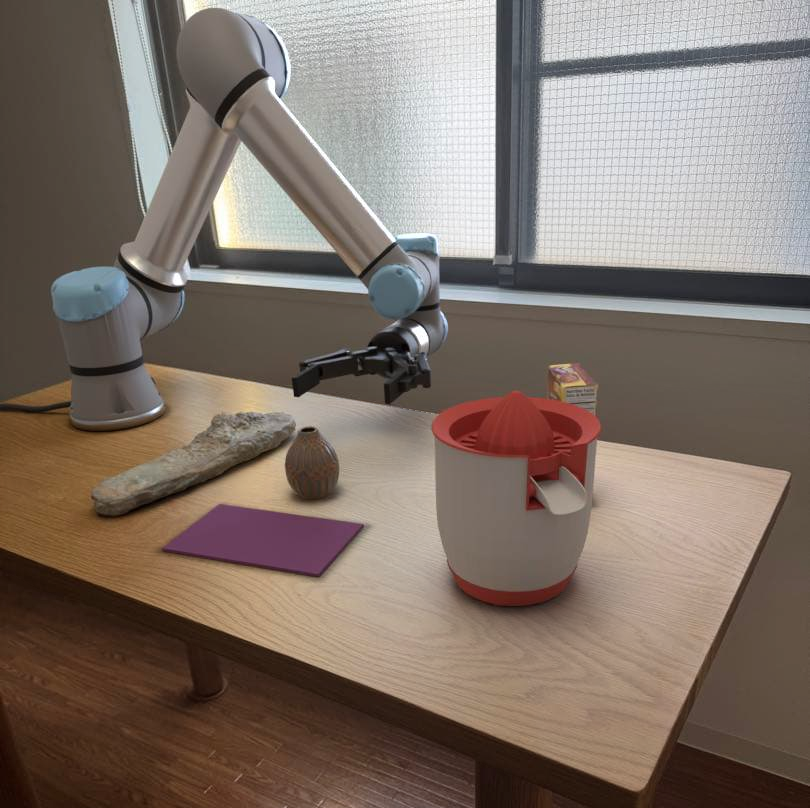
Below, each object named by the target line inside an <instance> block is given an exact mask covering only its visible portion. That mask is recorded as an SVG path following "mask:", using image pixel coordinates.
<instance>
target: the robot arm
mask: <svg viewBox="0 0 810 808" xmlns="http://www.w3.org/2000/svg"><path fill="white" fill-rule="evenodd" d="M176 42H177V43H176V61H177V67H178V70H179V73H180V76H181V78H182V81H183V82H184V84H185V93H186V97H187V100H188V102H189V109H188V111H187V114H186V116H185V119H184V121H183V124H182V126H181V128H180V131H179V134H178V136H177V137H176V140H175V143H174V145H173V148H172V150H171V152H170V155H169V157H168V160H167V162H166V164H165V167H164V169H163V172H162V175H161V177H160V179H159V181H158V184H157V186H156V189H155V191H154V194H153V196H152V198H151V201H150V203H149V205H148V208H147V210H146V213H145V216H144V218H143V220H142V223H141V224H140V227H139V229H138V232H137V235H136V237H135V239H134V241H131V242H126V243H123V244H122V245H121V246H120V249H119V252H118V254H117V257H116V259H115V261H114V264H113V266H94V267H93V266H92V267H87V268H82V269H81V270H74V271H70V272H68V273H65V274H63V275H61V276H59V277H58V278H57V279H55V281H54V282H53V283H52V285H51V288H50V294H51V299H52V310H53V312H54V314H55V317H56V320H57V325H58V328H59V332H60V336H61V340H62V344H63V348H64V351H65V354H66V359H67V362H68V365H69V370H70V375H71V387H70V400H69V401H64V402H57V403H52V404H47V405H38V406H37V405H27V404H19V403H4V402H2V403H1V402H0V410H15V411H20V412H22V411H23V412H30V413H45V412H51V411H55V410H61V409H68V408H69V417H70V421H71V424H72V426H73V427H75V428H77V429H80V430H84V431H92V432H106V431H118V430H123V429H129V428H134V427H139V426H141V425H145V424H147V423H150V422H152V421H154V420H156V419H158V418H159V417H161V416H162V415H163V414H164V413H165V411H166V406H165V402H164V399H163V396H162V395H161V393H160V392H159V391H158V390H157V388H156V385H157V383H156V381H155V379H154V378H153V377H152V376H151V375H150V374H149V372H148V369H147V367H146V365H145V360H144V356H143V355H144V354H143V350H142V345H141V340H144V339H145V338H147V337H150V336H152V335H153V334H156V333H158V332H161V331H164V330H165V329H167V328H169V327H170V325H172V324H173V323H174V322H175V321H176V320H177V319H178V318H179V316H180V315H181V313H182V311H183V308H184V305H185V291H184V289H185V287H186V284H187V282H188V276H187V273H186V271H185V269H184V266H185V264H186V262H187V259H188V258H189V256H190V253H191V251H192V249H193V247H194V244H195V243H196V241H197V238H198V236H199V234H200V231H201V229H202V228H203V225H204V223H205V222H206V218H207V217H208V214H209V212H210V210H211V208H212V206H213V204H214V201H215V200H216V197H217V195H218V193H219V191H220V189H221V186H222V184H223V182H224V180H225V178H226V175H227V173H228V171H229V168H230V167H231V165H232V162H233V161H234V158H235V156H236V154H237V151H238V149H239V147H240V145H241V144H243V145H244V146H245V147H246V148H247V150H249V152H250V153H251V154H252V155H253V156H254V158H255V159H256V160H257V162H259V163H260V165H261V166H262V167H263V168H264V170H266V172H267V173H268V174H269V175H270V176H271V177H272V179H273V180H274V181H275V182H276V184H277V185H278V186H279V187H280V188H281V189H282V190H283V192H284V193H285V194H286V195H287V196H288V198H289V199H290V200H291V201H292V202H293V203H294V204H295V206H296V207H297V208H298V209H299V210H300V212H302V214H303V215H304V216H305V217H306V219H307V220H308V221H309V222H310V223H311V224H312V225H313V227H314V228H315V229H316V230H317V231H318V232H319V234H320V235H321V237H323V238H324V239H325V241H326V242H327V243H328V244H329V246H331V248H332V249H333V250H334V251H335V252H336V253H337V255H338V256H339V257H340V258H341V260H342V261H343V262H344V263H345V264H346V265H347V266H348V267H349V269H350V270H351V271H352V272H353V273H354V275H355V276H356V277H357V278H358V280H359V281H360V282H361V283H362V284H363V285H364V287H365V288H366V289H367V295H368V299H369V303H370V305H371V307H372V308H373V310H374V311H375V312H376V313H377V314H378V315H379V316H381V317H383V318H385V319H388V320H395V322H394V323H392V324H390V325H388V326H387V327H385V328H384V329H381V330H380V331H379V332H377V333H376V334H375V335H373V336H372V337H371V338H370V340H369V342H368V344H367V346H366V347H365V348H364V349H361V350H356V351H351V348H349V347H345V348H341V349H340V350H338V351H335V352H331V353H327V354H323V355H320V356H316V357H312V358H309V359H304V360H301V361H298V366H299V368H298V369H299V372H298V373H297V374H295V375H294V376H292V377H291V384H292V393H293V397H294V398H301V396H303V395H305V394H306V393H308V392H309V391H311V390H312V389H314V388H316V387H317V386H318V385H319V384H321V381H326V380H331V379H334V378H335V379H336V378H340V377H344V376H349V375H353V376H355V377H361V376H366V375H370V376H374V375H378V376H379V377H380V378H383V379H386V380H387V381H386V382H384V383H383V392H384V404H385V405H392V403H394V402H395V401H396V400H397V399H398V398H400V397H401V396H402V395H403V394H404V393H407V392H410V391H411V390H414V389H417V388H418V386H421V387H422V388H423V389H430V388H431V387H432V377H431V376H432V375H431V374H432V373H431V368H430V365H429V364H428V357H429V356H431V355H432V354H434V353H436V351H438V350H439V349H440V348H441V347H442V345H443V343H445V341H446V339H447V337H448V333H449V324H448V321H447V318H446V317H445V314H444V313H443V312H442V311H441V299H440V298H441V297H440V295H441V294H440V293H441V292H440V260H441V255H440V252H439V241H438V238H437V236H435V235H434V234H432V233H425V232H423V233H422V232H421V233H420V232H419V233H418V232H417V233H416V232H415V233H405V234H399V235H395V236H393V235H392V234H391V233H390V232H389V230H388V229H387V227H385V225H384V224H383V223H382V222H381V220H380V219H379V218H378V217H377V215H376V214H375V213H374V212H373V211H372V210H371V208H370V207H369V206H368V205H367V203H366V202H365V201H364V200H363V199H362V198H361V196H360V195H359V194H358V193H357V191H356V190H355V189H354V188H353V186H352V185H351V184H350V183H349V181H348V180H347V179H346V178H345V177H344V176H343V174H342V172H340V171H339V169H338V168H337V167H336V166H335V165H334V163H333V162H332V161H331V160H330V159H329V157H328V156H327V154H325V152H324V151H323V150H322V148H321V147H320V146H319V145H318V144H317V143H316V141H315V140H314V139H313V137H311V136H310V134H309V133H308V131H307V130H306V129H305V128H304V127H303V125H301V123H300V122H299V121H298V120H297V119H296V117H295V116H294V115H293V113H292V112H291V111H290V110H289V108H287V106H286V105H285V103H284V102H283V101H282V100H281V99H282V98H283V97H284V96H285V94H286V92H287V90H288V87H289V84H290V80H291V70H292V69H291V59H290V56H289V53H288V49H287V47H286V45H285V43H284V41H283V39H282V37H281V36H280V35H279V34H278V33H277V31H275V29H274V28H272V27H271V26H270V25H268V24H267V23H265V22H264V21H262V20H260V19H259V18H258V17H255V16H253V15H249V14H241V13H238V12H235V11H232V10H229V9H226V8H222V7H207V8H204V9H201V10H199V11H196V12H195V13H193V14H192V15H191V16H190V17H188V18H187V20H186V21H185V23H184V24H183V26H182V28H181V30H180V31H179V33H178V37H177V41H176ZM359 368H360V369H359Z"/></svg>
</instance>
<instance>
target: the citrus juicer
mask: <svg viewBox="0 0 810 808" xmlns="http://www.w3.org/2000/svg"><path fill="white" fill-rule="evenodd" d="M430 430H431V432H432V434H433V436H434V437H433V438H434V439H433V440H434V466H435V467H434V470H435V474H434V475H435V509H436V518H437V519H436V520H437V529H438V533H439V536H440V543H441V545H442V549H443V551H444V554H445V557H446V563H447V566H448V569H449V570H450V573H451V575H452V577H453V579H454V580H455V582H456V584H457V585H458V587H459V588H460V589H461V590H462V591H463V592H465V594H467V595H469V596H471V597H472V598H474V599H476V600H480V601H482V602H485V603H489V604H492V605H494V606H498V607H499V606H506V607H507V606H509V607H512V606H513V607H514V606H515V607H517V606H518V607H520V606H529V605H535V604H540V603H543V602H546V601H548V600H551V599H553V598H555V597H556V596H558V595H559V594H560V593H562V592H563V591H564V590H565V589H566V587H567V585H568V584H569V582H570V580H571V579H572V577H573V575H574V573H575V571H576V569H577V567H578V563H579V560H580V557H581V556H582V553H583V551H584V547H585V544H586V540H587V537H588V533H589V527H590V521H591V515H592V514H591V513H592V506H593V496H594V495H593V494H594V481H595V470H596V458H597V444H598V437H599V436H600V434H601V432H602V425H601V422H600V419H599V418H598V417H597V415H596V416H595V415H594V414H592V413H591V412H589V411H587V410H585V409H583V408H581V407H578V406H576V405H573V404H569V403H565V402H562V401H556V400H551V399H548V398H544V397H543V398H542V397H532V396H526V395H525V394H524V393H522V392H521V390H520V391H519V390H512V391H511V392H509V393H508V394H507V395H506V396H499V397H488V398H482V399H475V400H470V401H467V402H463V403H459V404H456V405H454V406H451V407H448V408H447V409H444V410H443V411H441V412H440V413H439V414H437V415H436V416H435V417H434V419H433V420H432V423H431V427H430Z"/></svg>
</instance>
